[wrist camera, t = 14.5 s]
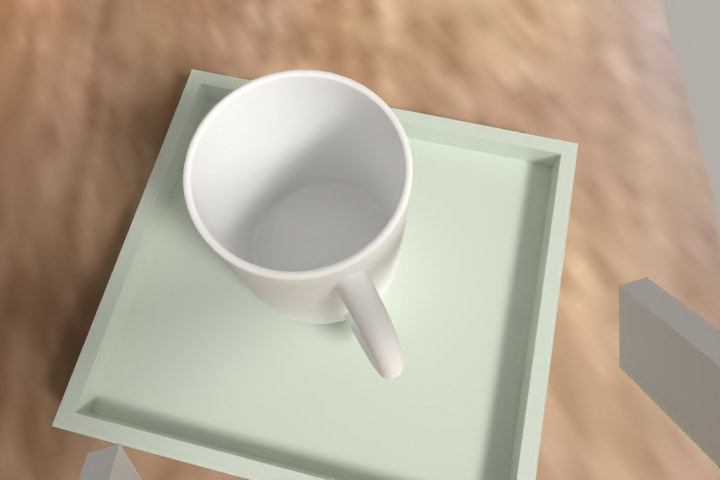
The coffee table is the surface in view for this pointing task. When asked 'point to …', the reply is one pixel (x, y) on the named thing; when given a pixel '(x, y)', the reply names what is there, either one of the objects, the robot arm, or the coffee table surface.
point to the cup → (307, 199)
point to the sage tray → (341, 326)
